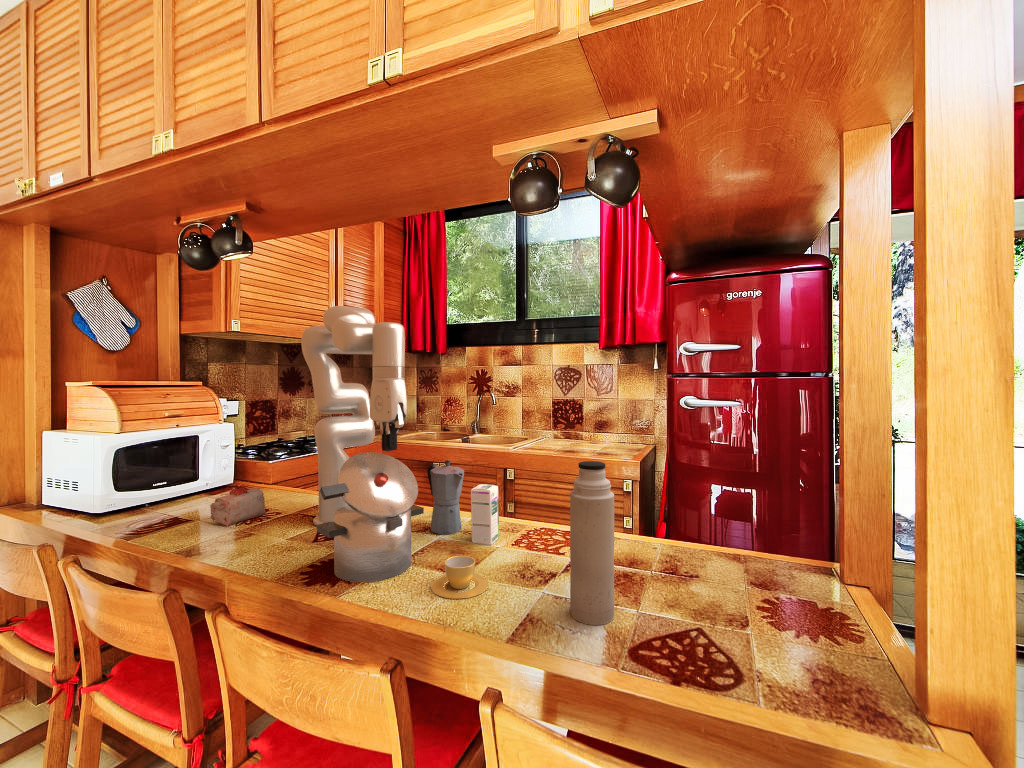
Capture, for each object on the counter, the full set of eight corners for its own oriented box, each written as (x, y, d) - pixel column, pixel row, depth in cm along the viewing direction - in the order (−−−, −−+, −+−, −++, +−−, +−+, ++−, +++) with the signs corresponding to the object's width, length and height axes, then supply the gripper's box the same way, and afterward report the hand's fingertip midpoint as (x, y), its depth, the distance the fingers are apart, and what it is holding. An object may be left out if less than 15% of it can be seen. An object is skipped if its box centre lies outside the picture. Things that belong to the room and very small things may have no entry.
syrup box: (491, 545, 119) (491, 489, 119) (470, 543, 121) (470, 488, 121) (499, 538, 124) (499, 484, 124) (479, 535, 126) (479, 483, 126)
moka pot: (452, 540, 123) (451, 465, 123) (413, 528, 132) (413, 459, 132) (475, 530, 131) (475, 460, 130) (437, 520, 140) (437, 454, 140)
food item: (226, 528, 133) (225, 494, 133) (208, 525, 136) (207, 492, 136) (267, 515, 146) (267, 484, 146) (250, 512, 149) (249, 482, 149)
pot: (306, 571, 104) (306, 513, 103) (398, 543, 121) (397, 494, 120) (344, 598, 91) (344, 532, 91) (440, 563, 108) (440, 507, 108)
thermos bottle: (601, 600, 90) (601, 457, 89) (622, 621, 82) (622, 465, 82) (563, 606, 88) (563, 459, 87) (581, 628, 80) (581, 467, 79)
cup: (492, 597, 92) (492, 570, 91) (430, 603, 89) (430, 575, 89) (485, 572, 103) (485, 548, 103) (430, 576, 101) (430, 552, 101)
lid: (428, 509, 106) (433, 501, 105) (336, 532, 90) (340, 523, 89) (395, 452, 116) (400, 444, 114) (307, 464, 100) (310, 455, 98)
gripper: (359, 374, 113) (359, 448, 114) (391, 374, 103) (392, 455, 103) (386, 374, 119) (386, 445, 119) (419, 374, 108) (420, 451, 109)
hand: (389, 450), depth 111 cm, fingers closed
